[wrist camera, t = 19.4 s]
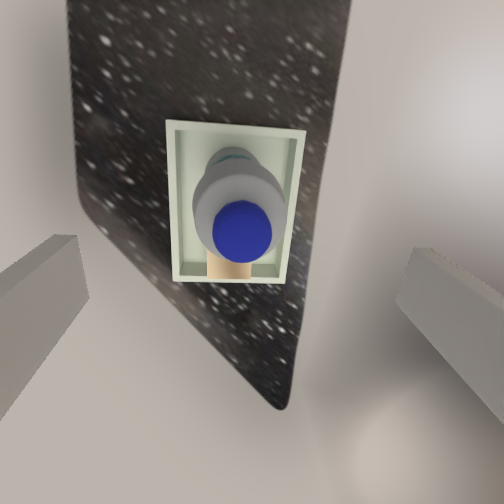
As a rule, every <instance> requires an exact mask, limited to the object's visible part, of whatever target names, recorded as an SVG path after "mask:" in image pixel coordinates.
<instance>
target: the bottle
mask: <svg viewBox="0 0 504 504" xmlns="http://www.w3.org/2000/svg"><path fill="white" fill-rule="evenodd" d="M192 211H193V216H194V222H195V228H196V231H197V234H198V237H199V238H200V240H201V242H202V243H203V245H204V246H205V247H206V248H207V249H208V250H209V251H210V252H211V253H213V254H214V255H216V256H218V257H220V258H222V259H225V260H228V261H232V262H236V263H248V262H252V261H255V260H257V259H259V258H261V257H263V256H265V255H266V254H268V253H269V252H270V251H272V250H273V249H274V248H275V247H276V245H277V244H278V242H279V241H280V240H281V238H282V236H283V234H284V232H285V228H286V224H287V211H286V206H285V199H284V194H283V191H282V188H281V186H280V184H279V182H278V181H277V179H276V178H275V176H274V175H273V174H272V173H271V172H270V171H269V170H267V169H266V168H264V167H263V166H262V165H260V163H259V161H258V160H257V158H256V157H255V156H254V155H253V154H252V153H250V152H249V151H247V150H245V149H243V148H238V147H228V148H224V149H221V150H220V151H218V152H217V153H215V154H214V155H213V156H212V157H211V159H210V160H209V162H208V163H207V165H206V169H205V173H204V175H203V176H202V178H201V179H200V181H199V182H198V184H197V186H196V188H195V191H194V194H193V200H192Z"/></svg>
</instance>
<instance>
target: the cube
mask: <svg viewBox="0 0 504 504" xmlns="http://www.w3.org/2000/svg"><path fill="white" fill-rule="evenodd" d="M251 266H252V262H248V263H236V262H232V261H228V260H225V259H222V258H220V257H218V256H216V255H214V254H213V253H211V252H210V251H209V250H208V249H207V279H251Z"/></svg>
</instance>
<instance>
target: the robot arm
mask: <svg viewBox="0 0 504 504" xmlns="http://www.w3.org/2000/svg"><path fill="white" fill-rule="evenodd" d="M88 299H89V294H88V289H87V284H86V279H85V274H84V269H83V264H82V259H81V254H80V249H79V244H78V239H77V235H57V234H55V235H53V236H51V237H50V238H49V239H47V240H46V241H44V242H43V243H42V244H40V245H39V246H38V247H36V248H35V249H33V250H32V251H31V252H29V253H28V254H27V255H25V256H24V257H22V258H21V259H19V260H18V261H17V262H15V263H14V264H12V265H11V266H10V267H8V268H7V269H5V270H4V271H3V272H1V273H0V421H1V419H2V418H3V416H4V415H5V414H6V412H7V411H8V410H9V408H10V407H11V405H12V404H13V403H14V401H15V400H16V399H17V397H18V395H19V394H20V393H21V392H22V390H23V389H24V388H25V386H26V385H27V383H28V382H29V381H30V379H31V378H32V376H33V375H34V374H35V372H36V371H37V370H38V368H39V367H40V366H41V364H42V363H43V361H44V360H45V359H46V357H47V356H48V355H49V353H50V352H51V350H52V349H53V347H54V346H55V345H56V344H57V342H58V341H59V339H60V338H61V336H62V335H63V334H64V333H65V331H66V330H67V328H68V327H69V326H70V324H71V323H72V322H73V320H74V319H75V317H76V316H77V314H78V313H79V312H80V311H81V309H82V308H83V306H84V305H85V304H86V302H87V301H88ZM395 303H396V304H397V306H398V307H399V308H400V309H401V310H402V311H403V312H404V313H405V314H406V316H407V317H408V318H409V319H410V320H411V321H412V322H413V323H414V325H415V326H416V327H417V328H418V329H419V330H420V331H421V332H422V334H423V335H424V336H425V337H426V338H427V339H428V340H429V341H430V343H431V344H432V345H433V346H434V347H435V348H436V349H437V350H438V352H439V353H440V354H441V355H442V356H443V357H444V358H445V359H446V360H447V362H448V363H449V364H450V365H451V366H452V367H453V368H454V369H455V371H456V372H457V373H458V374H459V375H460V376H461V377H462V378H463V380H464V381H465V382H466V383H467V384H468V385H469V386H470V387H471V388H472V390H473V391H474V392H475V393H476V394H477V395H478V396H479V397H480V399H482V401H483V402H484V403H485V404H486V405H487V406H488V407H489V409H490V410H491V411H492V412H493V413H494V414H495V415H496V416H497V418H498V419H499V420H500V421H501V422H502V423H503V424H504V296H503V295H502V294H500V293H499V292H497V291H496V290H494V289H493V288H491V287H490V286H488V285H487V284H485V283H483V282H482V281H480V280H479V279H478V278H476V277H475V276H473V275H471V274H469V273H468V272H467V271H465V270H464V269H462V268H461V267H459V266H458V265H456V264H455V263H453V262H452V261H450V260H449V259H447V258H446V257H444V256H442V255H441V254H440V253H438V252H436V251H435V250H433V249H432V248H420V247H414V248H413V251H412V254H411V257H410V260H409V263H408V266H407V268H406V271H405V275H404V277H403V280H402V283H401V286H400V289H399V291H398V294H397V298H396V300H395Z"/></svg>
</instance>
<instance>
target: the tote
mask: <svg viewBox="0 0 504 504" xmlns="http://www.w3.org/2000/svg"><path fill="white" fill-rule="evenodd" d="M305 137H306V131H305V130H299V129H289V128H276V127H264V126H251V125H239V124H226V123H214V122H201V121H188V120H176V119H168V120H166V140H167V162H168V184H169V206H170V228H171V250H172V272H173V281H182V282H233V283H283V284H285V278H286V271H287V264H288V257H289V250H290V243H291V236H292V229H293V222H294V215H295V207H296V200H297V193H298V186H299V179H300V172H301V165H302V158H303V151H304V144H305ZM228 147H238V148H243V149H245V150H247V151H249V152H250V153H252V154H253V155H254V156H255V157H256V158H257V160H258V161H259V163H260V165H262V166H263V167H264V168H266V169H267V170H269V171H270V172H271V173H272V174H273V175H274V176H275V178H276V179H277V181H278V182H279V184H280V186H281V188H282V191H283V194H284V199H285V206H286V211H287V224H286V228H285V232H284V234H283V236H282V238H281V240H280V241H279V242H278V244H277V245H276V247H275V248H274V249H273V250H272V251H270V252H269V253H268V254H266V255H265V256H263V257H261V258H259V259H257V260H255V261H252V266H251V279H207V248H206V247H205V246H204V245H203V243H202V242H201V240H200V238H199V237H198V234H197V231H196V228H195V222H194V216H193V211H192V200H193V194H194V191H195V188H196V186H197V184H198V182H199V181H200V179H201V178H202V176H203V175H204V173H205V169H206V165H207V163H208V162H209V160H210V159H211V157H212V156H213V155H214V154H215V153H217V152H218V151H220V150H221V149H224V148H228Z"/></svg>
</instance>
